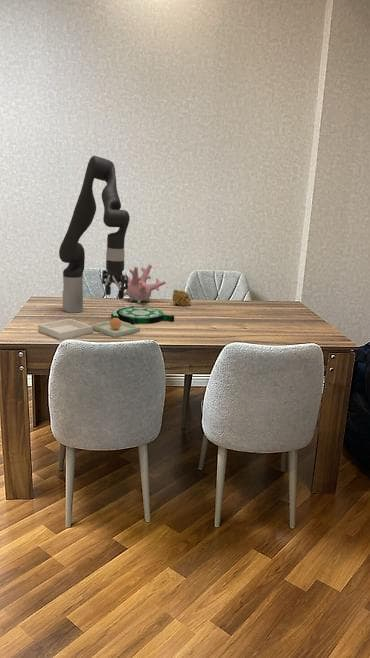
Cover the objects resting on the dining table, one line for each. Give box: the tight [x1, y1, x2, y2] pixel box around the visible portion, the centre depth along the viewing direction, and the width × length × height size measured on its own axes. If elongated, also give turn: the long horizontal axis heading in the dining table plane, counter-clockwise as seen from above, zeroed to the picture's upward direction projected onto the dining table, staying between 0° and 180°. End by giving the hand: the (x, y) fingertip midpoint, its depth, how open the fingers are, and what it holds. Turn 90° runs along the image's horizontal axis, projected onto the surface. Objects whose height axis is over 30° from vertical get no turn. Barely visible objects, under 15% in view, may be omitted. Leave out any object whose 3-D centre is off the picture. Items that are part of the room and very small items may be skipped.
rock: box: [172, 289, 192, 307], centre depth 265 cm, size 12×9×10 cm
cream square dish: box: [37, 318, 94, 341], centre depth 206 cm, size 16×16×3 cm
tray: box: [90, 320, 141, 338], centre depth 212 cm, size 16×14×2 cm
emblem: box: [110, 305, 175, 325], centre depth 233 cm, size 25×3×30 cm
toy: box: [124, 264, 167, 304], centre depth 264 cm, size 18×21×20 cm
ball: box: [109, 318, 121, 329], centre depth 211 cm, size 5×5×5 cm
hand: (114, 296), depth 208 cm, fingers open, 8 cm apart
